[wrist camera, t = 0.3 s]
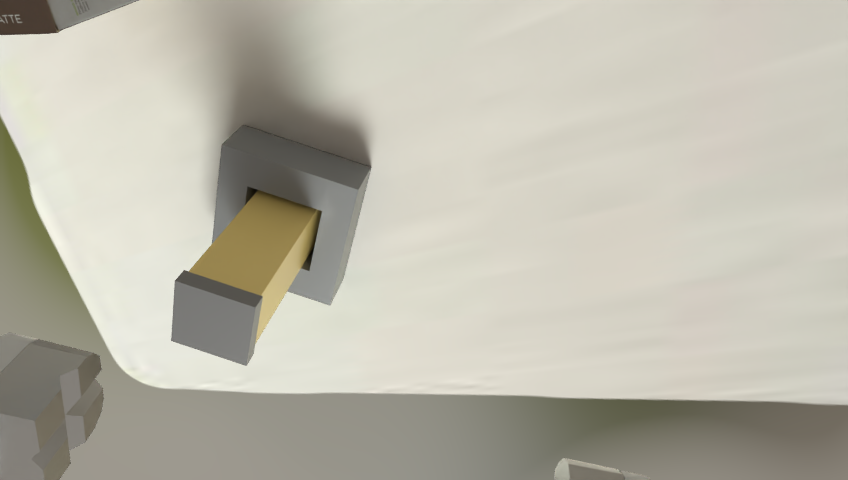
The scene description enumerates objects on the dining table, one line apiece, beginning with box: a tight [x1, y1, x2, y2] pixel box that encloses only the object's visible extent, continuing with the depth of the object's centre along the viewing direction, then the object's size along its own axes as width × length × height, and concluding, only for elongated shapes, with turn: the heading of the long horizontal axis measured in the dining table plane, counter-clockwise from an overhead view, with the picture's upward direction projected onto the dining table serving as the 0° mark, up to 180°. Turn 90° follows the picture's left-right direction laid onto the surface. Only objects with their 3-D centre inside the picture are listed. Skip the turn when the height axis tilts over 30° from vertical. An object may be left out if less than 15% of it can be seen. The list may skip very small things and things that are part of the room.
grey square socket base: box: [212, 125, 371, 305], centre depth 54 cm, size 12×11×4 cm
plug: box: [171, 190, 322, 366], centre depth 49 cm, size 5×5×16 cm
